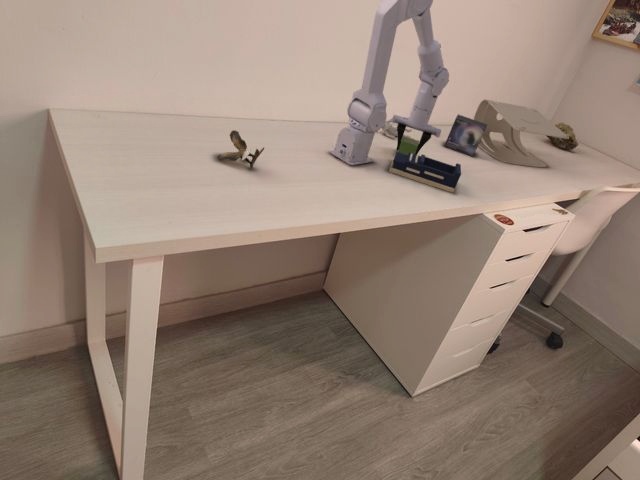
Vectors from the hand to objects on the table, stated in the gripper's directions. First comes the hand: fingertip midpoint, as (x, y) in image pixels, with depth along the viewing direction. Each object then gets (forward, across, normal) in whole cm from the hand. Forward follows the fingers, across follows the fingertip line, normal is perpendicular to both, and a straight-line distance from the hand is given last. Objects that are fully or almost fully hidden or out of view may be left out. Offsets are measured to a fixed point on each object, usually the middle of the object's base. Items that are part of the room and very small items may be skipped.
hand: (406, 152), depth 135 cm
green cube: (+1, 0, 0) cm, 1 cm away
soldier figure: (+2, +6, -17) cm, 19 cm away
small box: (+2, -17, -26) cm, 31 cm away
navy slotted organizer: (+1, -6, +13) cm, 14 cm away
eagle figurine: (+2, +36, +43) cm, 56 cm away
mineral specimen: (+2, -64, -82) cm, 104 cm away
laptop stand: (+2, -36, -43) cm, 56 cm away
